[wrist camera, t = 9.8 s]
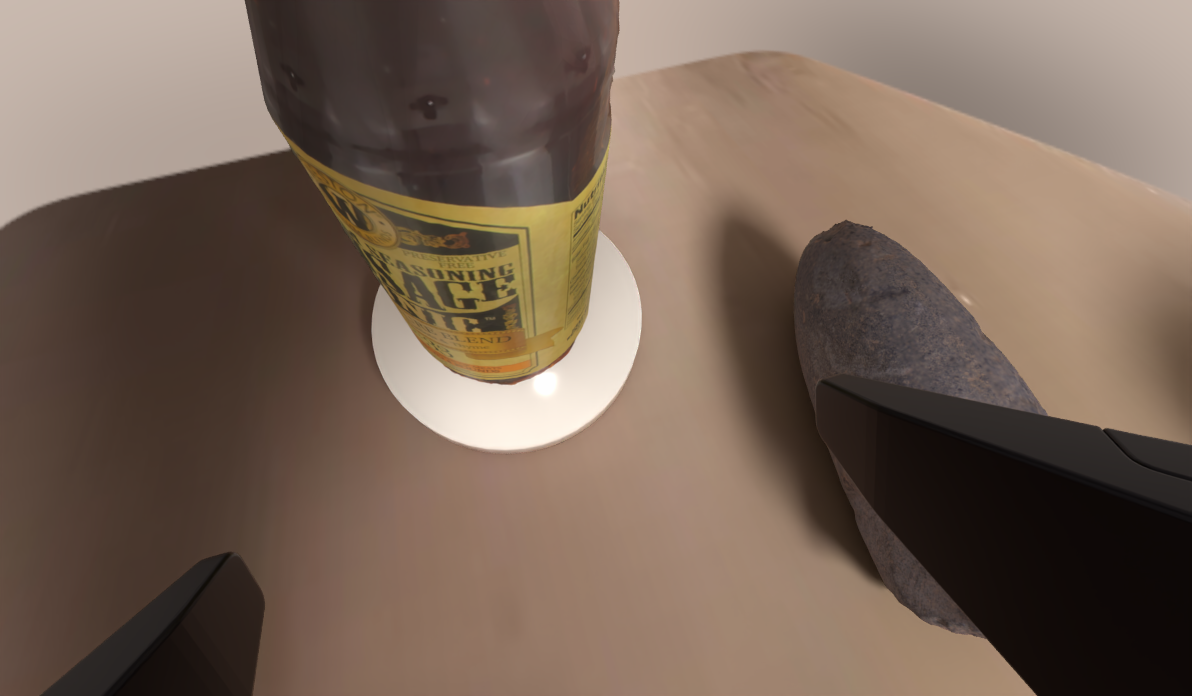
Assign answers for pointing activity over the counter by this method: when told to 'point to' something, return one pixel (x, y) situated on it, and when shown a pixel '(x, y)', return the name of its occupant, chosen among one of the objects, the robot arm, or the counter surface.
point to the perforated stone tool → (895, 367)
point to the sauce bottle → (456, 158)
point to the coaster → (531, 406)
